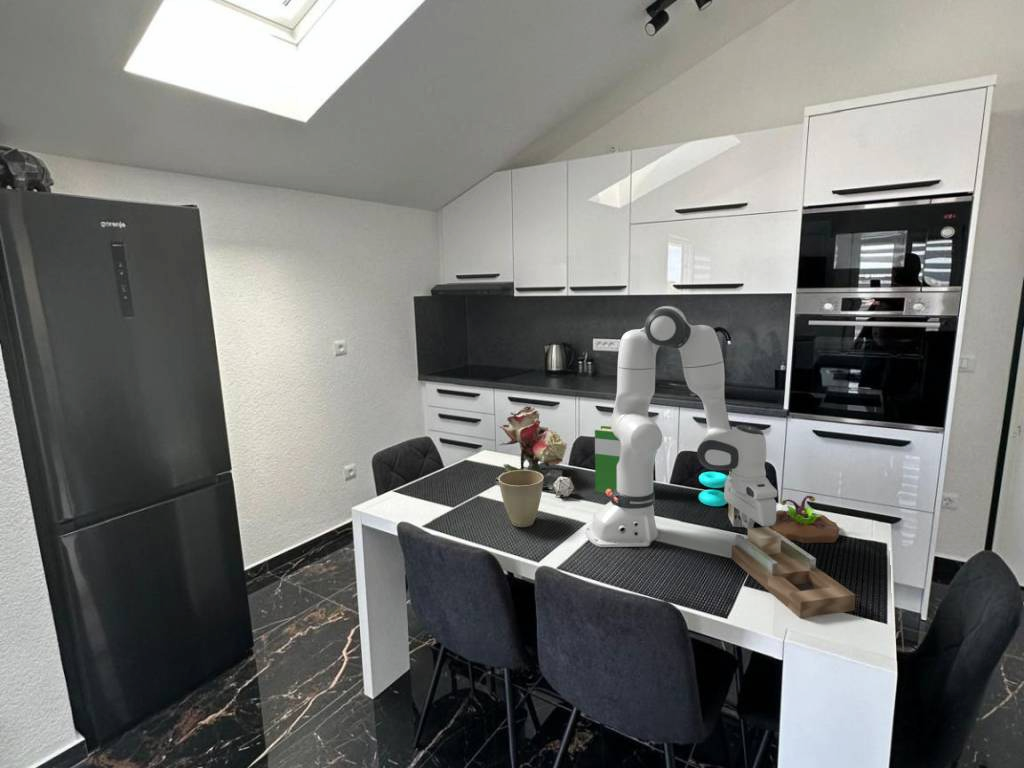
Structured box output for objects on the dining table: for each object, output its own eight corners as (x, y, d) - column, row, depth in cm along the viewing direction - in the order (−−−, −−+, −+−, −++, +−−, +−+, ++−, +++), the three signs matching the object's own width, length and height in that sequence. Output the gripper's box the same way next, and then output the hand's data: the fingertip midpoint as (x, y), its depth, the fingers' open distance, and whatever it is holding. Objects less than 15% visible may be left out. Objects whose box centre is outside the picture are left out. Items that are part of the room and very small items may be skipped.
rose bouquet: (563, 491, 207) (561, 415, 202) (491, 486, 215) (487, 413, 210) (574, 469, 231) (573, 401, 226) (509, 466, 239) (506, 400, 234)
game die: (568, 505, 203) (584, 484, 201) (558, 505, 196) (575, 483, 194) (552, 489, 208) (568, 469, 206) (542, 488, 200) (558, 467, 199)
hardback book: (595, 491, 206) (594, 430, 202) (602, 485, 212) (601, 425, 208) (641, 498, 197) (641, 434, 193) (646, 491, 203) (647, 430, 199)
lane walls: (771, 575, 135) (772, 563, 134) (735, 545, 151) (735, 535, 150) (815, 569, 136) (816, 558, 136) (774, 540, 153) (774, 530, 152)
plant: (849, 546, 156) (851, 510, 154) (776, 542, 161) (777, 506, 159) (826, 518, 175) (828, 485, 174) (761, 515, 180) (762, 483, 178)
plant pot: (493, 519, 183) (490, 475, 181) (531, 510, 190) (529, 467, 187) (513, 536, 170) (511, 488, 168) (553, 525, 177) (552, 479, 174)
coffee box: (754, 528, 170) (756, 479, 167) (732, 527, 171) (734, 478, 168) (747, 516, 178) (749, 469, 176) (727, 515, 180) (728, 469, 177)
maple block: (760, 555, 144) (760, 538, 144) (747, 545, 150) (747, 528, 149) (780, 553, 145) (781, 535, 144) (766, 543, 151) (767, 526, 150)
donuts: (727, 471, 193) (730, 481, 183) (727, 497, 194) (729, 508, 185) (698, 469, 196) (699, 479, 186) (697, 495, 197) (699, 506, 188)
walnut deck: (799, 618, 124) (800, 602, 123) (731, 558, 151) (731, 545, 151) (854, 610, 126) (855, 594, 125) (776, 553, 153) (777, 540, 153)
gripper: (718, 471, 163) (718, 514, 165) (759, 496, 143) (758, 544, 145) (738, 469, 164) (737, 512, 166) (781, 493, 144) (779, 541, 146)
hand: (747, 527), depth 156 cm, fingers closed
